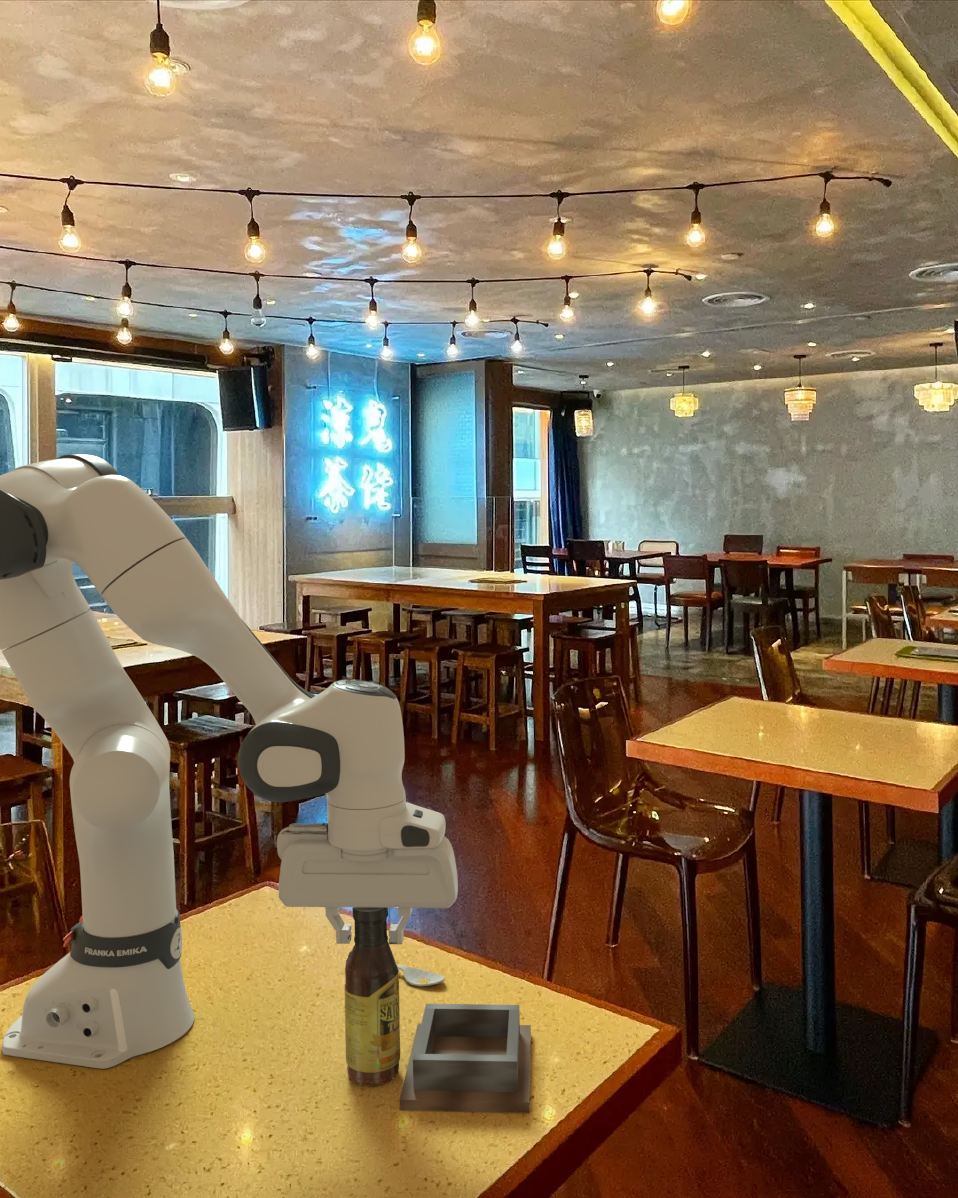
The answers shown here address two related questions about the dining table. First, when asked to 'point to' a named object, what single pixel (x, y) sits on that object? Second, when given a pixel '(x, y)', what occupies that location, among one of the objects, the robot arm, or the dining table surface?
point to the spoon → (420, 976)
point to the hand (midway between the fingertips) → (370, 942)
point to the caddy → (469, 1060)
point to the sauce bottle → (371, 1002)
